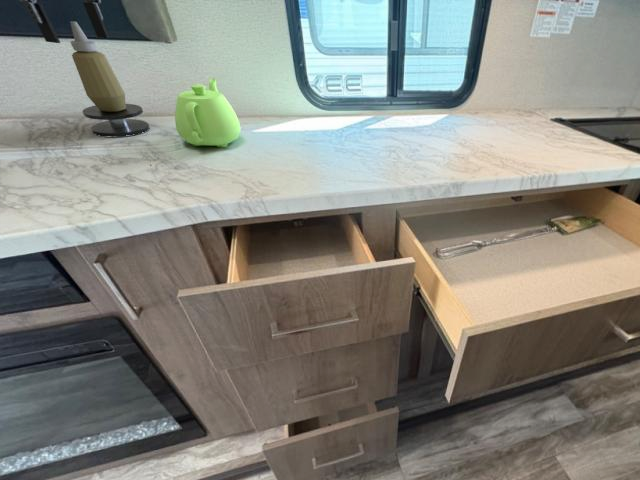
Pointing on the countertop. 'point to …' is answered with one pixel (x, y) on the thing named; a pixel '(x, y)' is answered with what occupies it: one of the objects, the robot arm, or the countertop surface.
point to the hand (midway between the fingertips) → (80, 40)
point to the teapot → (206, 117)
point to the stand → (117, 121)
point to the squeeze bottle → (96, 73)
